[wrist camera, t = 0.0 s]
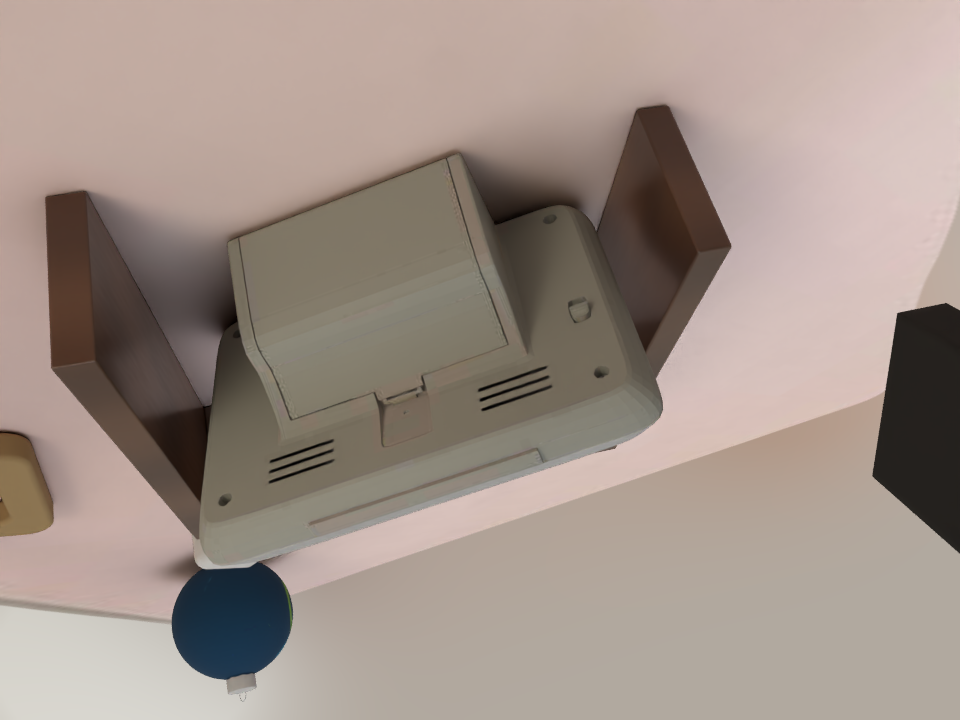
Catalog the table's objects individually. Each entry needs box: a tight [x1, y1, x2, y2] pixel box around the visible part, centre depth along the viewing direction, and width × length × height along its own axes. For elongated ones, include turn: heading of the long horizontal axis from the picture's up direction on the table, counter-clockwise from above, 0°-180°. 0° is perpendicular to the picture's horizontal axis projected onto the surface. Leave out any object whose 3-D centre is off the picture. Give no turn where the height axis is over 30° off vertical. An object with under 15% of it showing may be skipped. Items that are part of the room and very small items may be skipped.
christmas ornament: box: [172, 562, 293, 699], centre depth 62 cm, size 8×8×10 cm
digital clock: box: [199, 153, 663, 566], centre depth 31 cm, size 16×9×11 cm, turn 94°
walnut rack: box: [45, 106, 731, 540], centre depth 34 cm, size 18×20×6 cm
